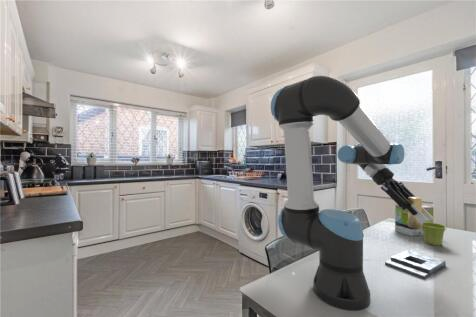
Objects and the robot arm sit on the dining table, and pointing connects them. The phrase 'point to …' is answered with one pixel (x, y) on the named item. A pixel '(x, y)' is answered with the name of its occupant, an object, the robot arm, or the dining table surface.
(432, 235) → the plant pot
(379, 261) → the dining table surface
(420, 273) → the grey square-hole plate
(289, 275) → the dining table surface
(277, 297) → the dining table surface
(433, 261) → the grey slotted plate
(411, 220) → the brass pin
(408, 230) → the tea box
